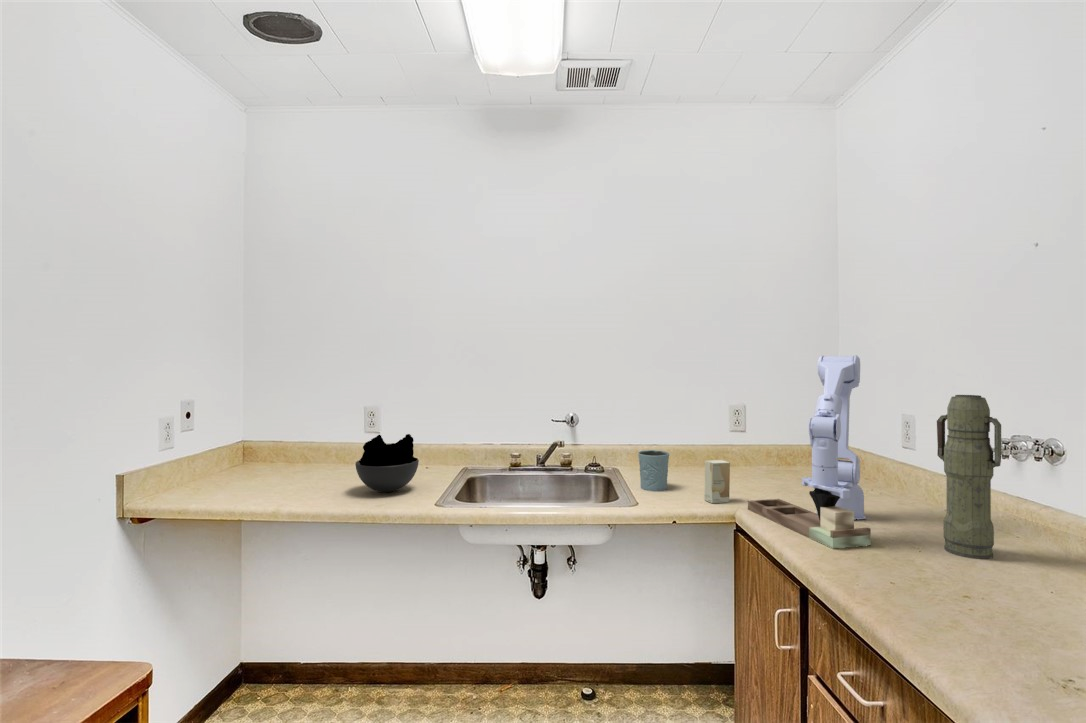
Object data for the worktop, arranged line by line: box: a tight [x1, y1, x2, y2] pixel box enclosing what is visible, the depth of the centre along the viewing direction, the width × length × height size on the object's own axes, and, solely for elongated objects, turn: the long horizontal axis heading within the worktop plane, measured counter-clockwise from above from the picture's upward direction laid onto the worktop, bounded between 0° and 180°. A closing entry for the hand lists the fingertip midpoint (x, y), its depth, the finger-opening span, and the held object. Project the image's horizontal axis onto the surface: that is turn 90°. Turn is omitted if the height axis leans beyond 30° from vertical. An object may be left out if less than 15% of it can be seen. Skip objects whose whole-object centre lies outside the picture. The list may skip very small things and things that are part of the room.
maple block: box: [820, 506, 855, 532], centre depth 131 cm, size 5×5×5 cm
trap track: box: [747, 498, 872, 550], centre depth 143 cm, size 10×34×4 cm, turn 12°
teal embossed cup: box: [637, 449, 670, 492], centre depth 185 cm, size 10×10×12 cm
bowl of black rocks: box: [355, 433, 420, 493], centre depth 182 cm, size 20×20×19 cm
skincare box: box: [704, 459, 731, 504], centre depth 168 cm, size 6×4×12 cm
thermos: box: [936, 394, 1002, 560], centre depth 123 cm, size 9×12×35 cm
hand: (824, 521), depth 135 cm, fingers closed
